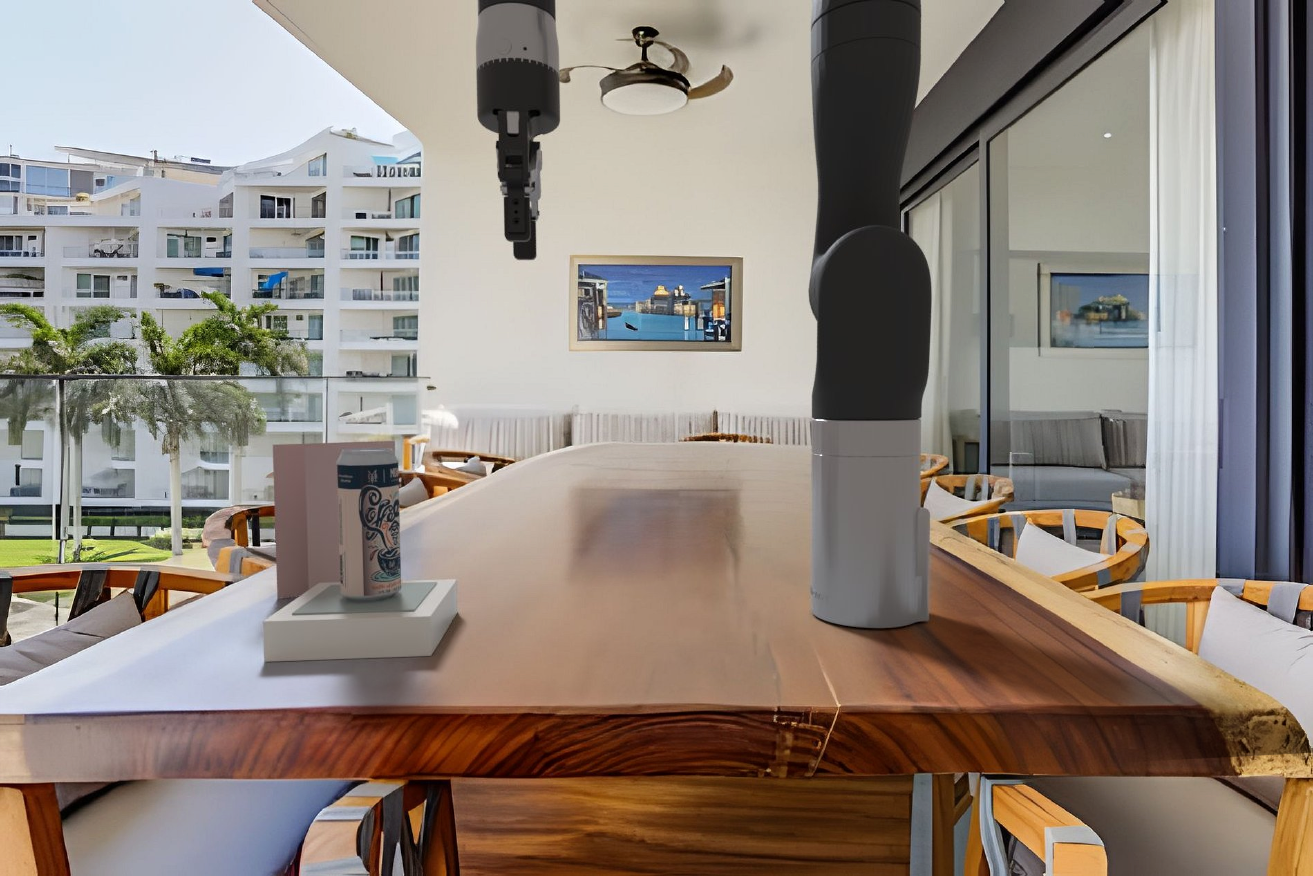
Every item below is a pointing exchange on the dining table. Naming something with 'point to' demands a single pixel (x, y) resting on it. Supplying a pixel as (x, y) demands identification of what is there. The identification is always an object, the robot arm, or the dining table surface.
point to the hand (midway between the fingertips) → (521, 250)
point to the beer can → (369, 524)
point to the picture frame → (361, 623)
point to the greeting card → (308, 513)
